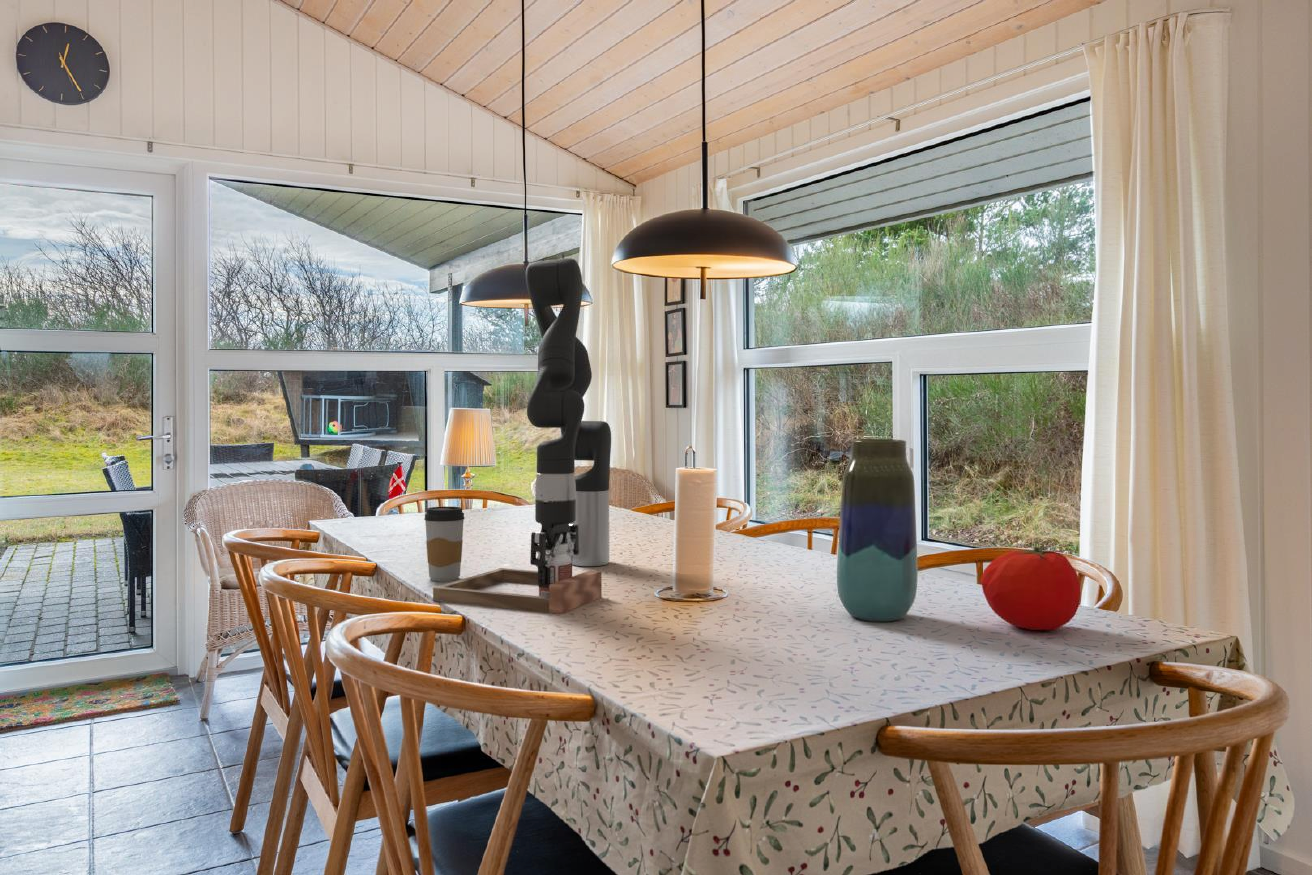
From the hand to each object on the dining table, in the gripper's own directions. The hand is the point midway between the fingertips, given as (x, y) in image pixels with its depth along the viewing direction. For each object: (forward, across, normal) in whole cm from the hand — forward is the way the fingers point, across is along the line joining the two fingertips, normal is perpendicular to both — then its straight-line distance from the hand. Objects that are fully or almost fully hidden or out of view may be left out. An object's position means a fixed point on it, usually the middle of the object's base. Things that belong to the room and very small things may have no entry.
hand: (555, 583), depth 176 cm
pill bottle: (+4, 0, 0) cm, 4 cm away
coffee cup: (+4, -11, -33) cm, 35 cm away
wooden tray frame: (+4, -4, -8) cm, 10 cm away
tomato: (+4, -15, +82) cm, 84 cm away
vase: (+4, -13, +57) cm, 59 cm away
